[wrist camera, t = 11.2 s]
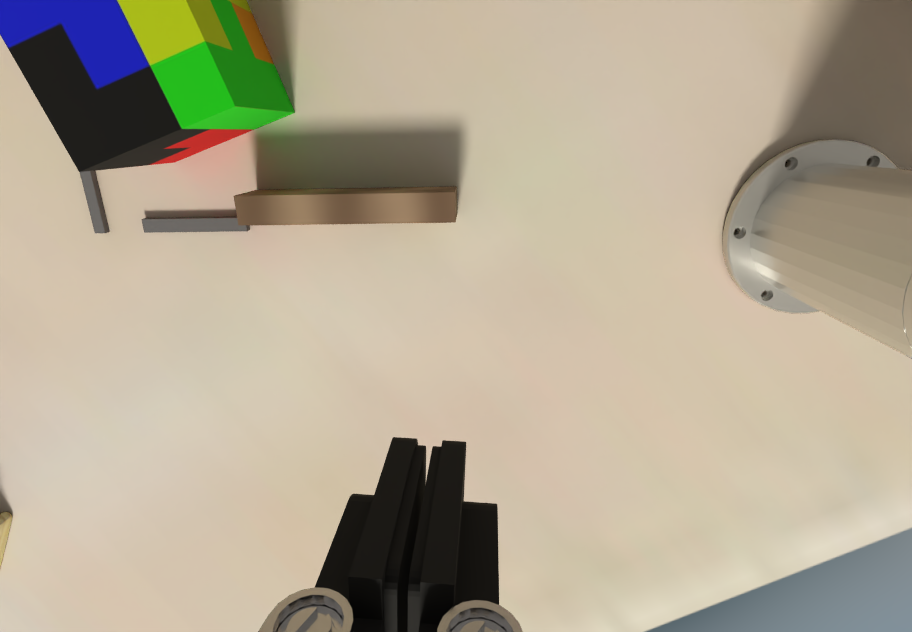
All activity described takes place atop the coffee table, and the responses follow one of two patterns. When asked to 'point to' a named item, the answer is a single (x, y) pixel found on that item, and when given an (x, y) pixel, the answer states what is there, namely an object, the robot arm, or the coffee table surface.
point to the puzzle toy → (144, 75)
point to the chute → (347, 206)
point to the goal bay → (154, 223)
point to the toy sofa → (4, 531)
